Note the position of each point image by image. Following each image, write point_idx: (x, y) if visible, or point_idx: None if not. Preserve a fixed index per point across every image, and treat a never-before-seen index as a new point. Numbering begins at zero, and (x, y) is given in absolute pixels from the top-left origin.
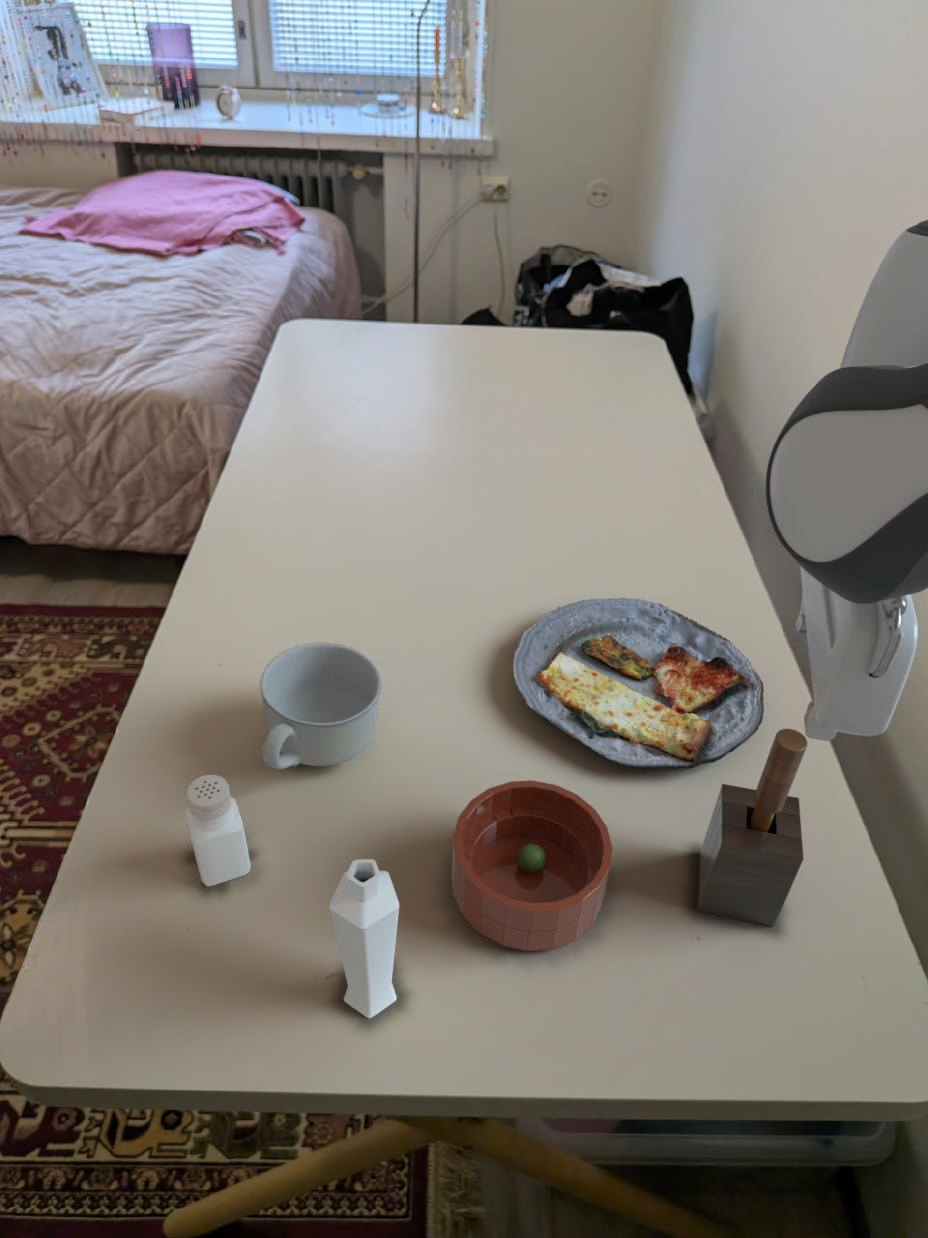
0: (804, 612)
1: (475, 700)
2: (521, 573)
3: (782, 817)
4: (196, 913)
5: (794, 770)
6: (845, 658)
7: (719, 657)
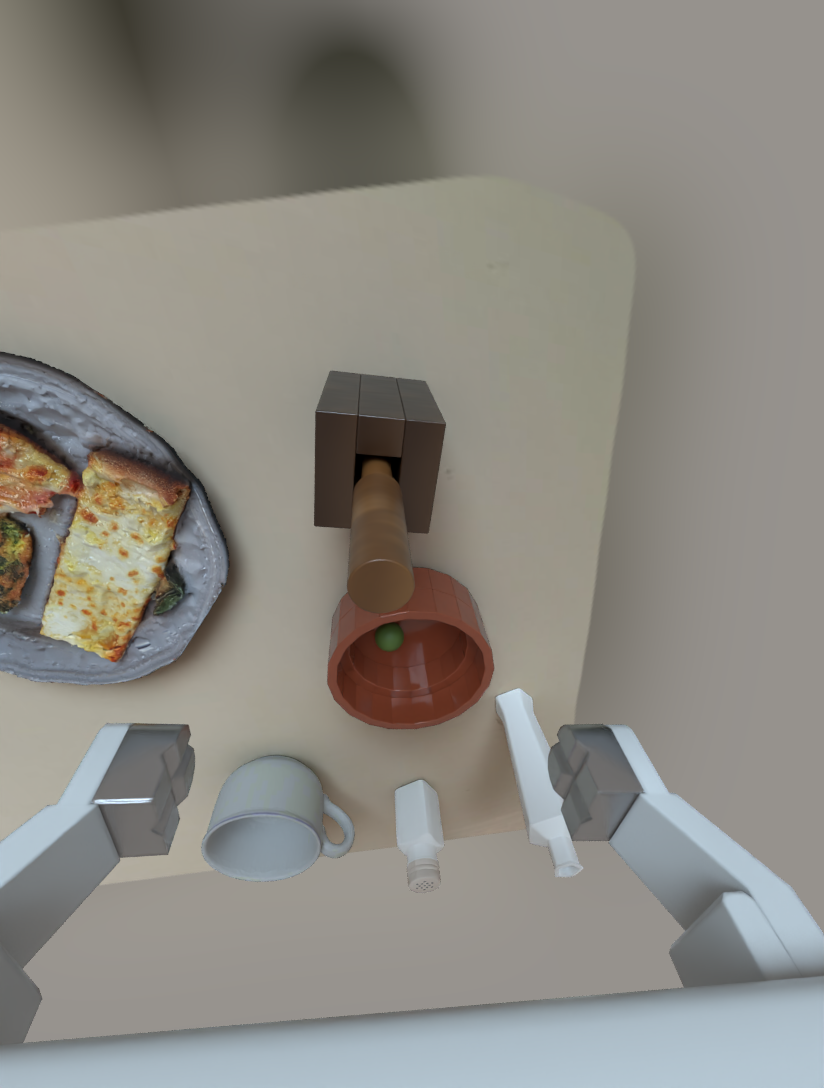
0: (107, 864)
1: (170, 687)
2: None
3: (366, 445)
4: (456, 790)
5: (405, 537)
6: None
7: None
